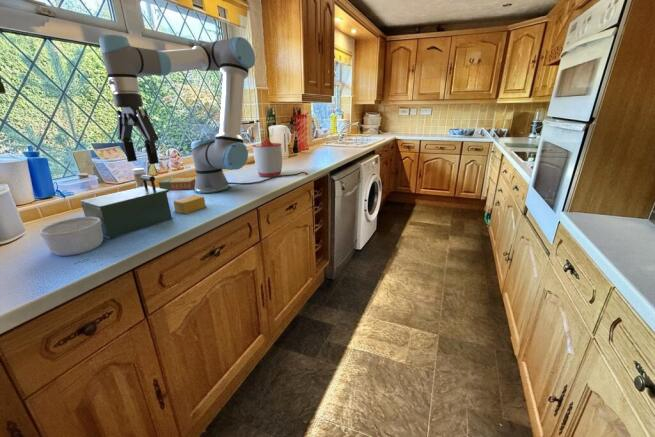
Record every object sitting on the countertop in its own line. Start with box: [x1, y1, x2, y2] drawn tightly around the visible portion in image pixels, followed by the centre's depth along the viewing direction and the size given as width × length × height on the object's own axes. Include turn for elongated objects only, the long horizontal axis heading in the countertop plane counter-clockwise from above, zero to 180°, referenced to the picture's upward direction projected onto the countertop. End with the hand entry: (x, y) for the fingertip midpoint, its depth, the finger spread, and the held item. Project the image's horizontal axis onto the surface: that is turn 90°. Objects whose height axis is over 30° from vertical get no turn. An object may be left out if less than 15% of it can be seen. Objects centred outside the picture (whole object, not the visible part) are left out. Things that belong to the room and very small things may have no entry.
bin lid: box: [79, 174, 170, 209], centre depth 97 cm, size 21×13×6 cm, turn 148°
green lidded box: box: [80, 192, 173, 240], centre depth 99 cm, size 20×13×10 cm
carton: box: [158, 176, 196, 191], centre depth 148 cm, size 8×16×4 cm, turn 88°
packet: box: [172, 194, 207, 215], centre depth 114 cm, size 9×6×4 cm, turn 148°
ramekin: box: [39, 216, 104, 257], centre depth 83 cm, size 13×13×7 cm
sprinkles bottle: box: [131, 167, 149, 188], centre depth 127 cm, size 5×5×14 cm
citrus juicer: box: [252, 138, 283, 178], centre depth 167 cm, size 16×17×20 cm
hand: (143, 162), depth 100 cm, fingers open, 13 cm apart
